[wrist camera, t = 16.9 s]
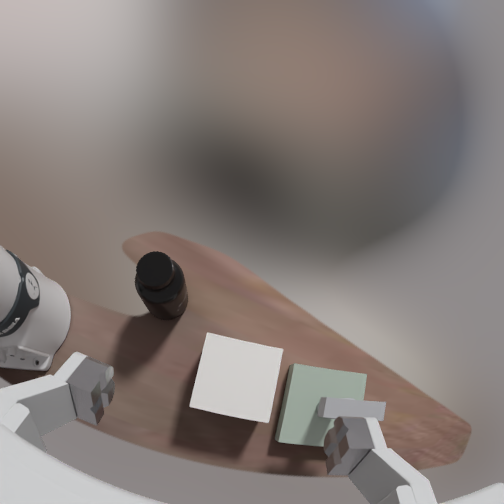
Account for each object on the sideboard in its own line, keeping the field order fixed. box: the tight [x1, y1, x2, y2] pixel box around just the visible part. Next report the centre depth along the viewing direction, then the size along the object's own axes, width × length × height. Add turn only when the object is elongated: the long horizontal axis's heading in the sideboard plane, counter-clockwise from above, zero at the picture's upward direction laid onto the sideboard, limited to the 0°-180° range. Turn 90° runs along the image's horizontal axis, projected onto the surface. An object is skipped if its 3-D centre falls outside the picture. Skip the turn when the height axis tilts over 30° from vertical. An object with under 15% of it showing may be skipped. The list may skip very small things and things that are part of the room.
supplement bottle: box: [135, 251, 188, 320], centre depth 40 cm, size 7×7×12 cm
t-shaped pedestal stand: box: [275, 363, 386, 446], centre depth 35 cm, size 12×12×13 cm
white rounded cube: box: [189, 332, 283, 423], centre depth 38 cm, size 10×10×7 cm
